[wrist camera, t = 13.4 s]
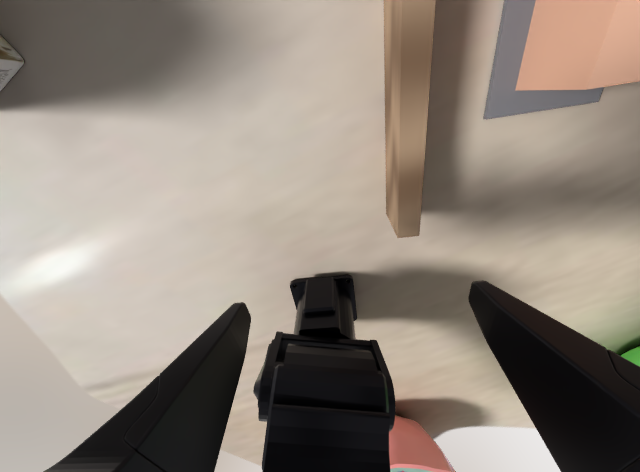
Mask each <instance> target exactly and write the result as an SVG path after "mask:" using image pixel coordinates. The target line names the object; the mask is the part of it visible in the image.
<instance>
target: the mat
mask: <svg viewBox="0 0 640 472" xmlns="http://www.w3.org/2000/svg"><path fill="white" fill-rule="evenodd" d="M535 2H536V0H504V6H503V11H502V17H501V22H500V28H499V34H498V39H497V45H496V51H495V56H494V62H493V67H492V73H491V79H490V84H489V90H488V95H487V101H486V107H485V112H484V118H483V119H492V118H498V117H504V116H511V115H517V114H524V113H530V112H536V111H543V110H549V109H556V108H562V107H568V106H575V105H581V104H588V103H594V102H598V101H599V98H600V96H601V93H602V91H603V88H604V87H600V88H594V89H588V90H518V91H515V89H516V85H517V80H518V76H519V72H520V67H521V63H522V58H523V54H524V50H525V45H526V41H527V37H528V32H529V28H530V23H531V19H532V15H533V10H534V6H535Z"/></svg>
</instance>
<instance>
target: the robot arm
mask: <svg viewBox="0 0 640 472" xmlns="http://www.w3.org/2000/svg"><path fill="white" fill-rule="evenodd" d="M347 280H349V281H347ZM294 285H296V286H294ZM290 288H291V292H292V295H293V299H294V302H295V306H296V309H297V315H296V322H295V329H294V334H286V333H283V332H276V336H275V339H274V340H272V343H271V344H269V347H268V351H267V355H266V359H265V362H264V365H263V367H262V369H261V371H260V374H259V376H258V378H257V380H256V382H255V385H254V394H255V396H256V397H257V399H258V408H259V421H267V428H266V436H265V444H264V452H263V460H262V470H263V472H390V457H389V431H391V430H392V429H393V426H394V421H395V395H394V388H393V383H392V380H391V377H390V374H389V371H388V369H387V366H386V363H385V361H384V358H383V356H382V353H381V350H380V348H379V345H378V343H377V340H370V341H367V340H356V338H355V329H354V321H355V320H356V319H357V313H356V304H355V295H354V285H353V278H352V276H350V275H342V276H332V277H322V278H312V279H301V280H293V281H291V283H290ZM469 303H470V306H471V308H472V310H473V312H474V315H475V317H476V319H477V321H478V324H479V326H480V328H481V330H482V333H483V335H484V337H485V339H486V341H487V343H488V345H489V347H490V349H491V350H492V352H493V354H494V356H495V357H496V359H497V361H498V363H499V364H500V366H501V368H502V370H503V371H504V373H505V375H506V376H507V378H508V380H509V382H510V383H511V385H512V387H513V389H514V390H515V392H516V394H517V396H518V397H519V399H520V401H521V403H522V404H523V406H524V408H525V410H526V411H527V413H528V415H529V417H530V418H531V420H532V422H533V423H534V425H535V427H536V429H537V430H538V432H539V434H540V436H541V437H542V439H543V440H544V442H545V444H546V446H547V448H548V449H549V451H550V453H551V455H552V457H553V458H554V460H555V462H556V463H557V465H558V467H559V469H560V470H561V472H640V366H638V365H636V364H634V363H632V362H630V361H629V360H627V359H625V358H623V357H621V356H619V355H618V354H616V353H614V352H612V351H611V350H607V349H606V348H605V347H603V346H601V345H600V344H598V343H596V342H594V341H592V340H591V339H589V338H587V337H585V336H583V335H582V334H580V333H578V332H576V331H574V330H573V329H571V328H569V327H567V326H566V325H564V324H562V323H560V322H558V321H557V320H555V319H553V318H551V317H549V316H548V315H546V314H544V313H542V312H540V311H539V310H537V309H535V308H533V307H531V306H530V305H528V304H526V303H524V302H522V301H521V300H519V299H517V298H515V297H513V296H512V295H510V294H508V293H506V292H504V291H503V290H501V289H499V288H497V287H496V286H494V285H492V284H490V283H488V282H486V281H475V282H473V283H472V284H471V289H470V293H469ZM250 323H251V316H250V313H249V311H248V309H247V307H246V305H245V303H243V302H241V303H234V304H233V305H232V306H231V307H230V308H228V309H227V310H226V311H225V312H224V313H223V314H222V315H221V316H220V317H219V318H218V319H217V320H216V321H215V322H214V323H213V324H212V325H211V326H210V327H209V328H208V329H207V330H205V331H204V332H203V333H202V334H201V335H200V336H199V337H198V338H197V339H196V340H195V341H194V342H193V343H192V344H191V345H190V346H189V347H188V348H187V349H186V350H185V351H183V352H182V353H181V354H180V355H179V356H178V357H177V358H176V359H175V360H174V361H173V362H172V363H171V364H170V365H169V366H168V367H167V368H166V369H165V370H164V371H163V372H161V373H160V375H159V376H157V377H156V378H155V379H154V380H153V381H152V382H151V383H150V384H149V385H148V386H147V387H146V388H145V389H143V390H142V391H141V392H140V393H139V394H138V395H137V396H136V397H135V398H134V399H133V400H131V401H130V402H129V403H128V404H127V405H126V406H125V407H123V408H122V409H121V410H120V411H119V412H118V413H117V414H116V415H114V416H113V417H112V418H111V419H110V420H108V421H107V422H106V423H105V424H104V425H103V426H101V427H100V428H99V429H98V430H97V431H96V432H95V433H93V434H92V435H91V436H90V437H89V438H87V439H86V440H85V441H84V442H83V443H82V444H81V445H79V446H78V447H77V448H76V449H74V450H73V451H72V452H71V453H70V454H69V455H67V456H66V457H65V458H63V459H62V460H61V461H59V462H58V463H56V464H55V465H54V466H52V467H51V468H49V469H47V470H45V471H44V472H214V470H215V466H216V462H217V459H218V455H219V451H220V448H221V444H222V440H223V436H224V433H225V429H226V425H227V422H228V418H229V414H230V411H231V407H232V403H233V400H234V396H235V392H236V388H237V385H238V381H239V377H240V374H241V370H242V366H243V363H244V358H245V354H246V348H247V342H248V335H249V329H250Z"/></svg>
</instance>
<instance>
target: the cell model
mask: <svg viewBox="0 0 640 472" xmlns="http://www.w3.org/2000/svg"><path fill="white" fill-rule="evenodd" d="M389 457H390V472H456V471H455V470H454V469H453V467H452V466H451V464H450V462H449V461H448V459H447V458H446V456H445V455H444V453H443V452H442V450H441V449H440V448H439V446H438V445H437V444H436V442H435V441H434V440H433V439H432V438H431V437H430V436H429V435H428V433H427V432H426V431H425V430H424V429H423V427H422V426H421V425H420V424H419V423H417V422H416V421H413V420H411V419H407V418H404V417H401V416H397V415H395V421H394V426H393V429H392V430H391V431H389Z"/></svg>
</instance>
